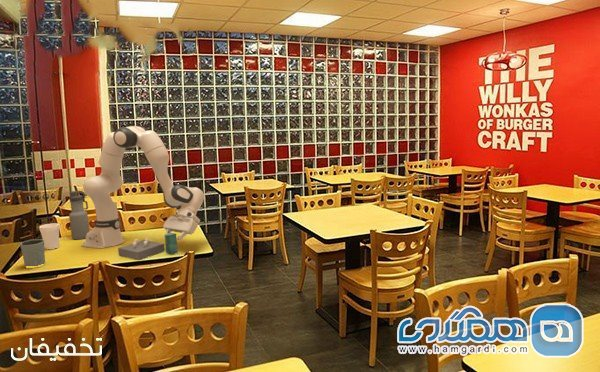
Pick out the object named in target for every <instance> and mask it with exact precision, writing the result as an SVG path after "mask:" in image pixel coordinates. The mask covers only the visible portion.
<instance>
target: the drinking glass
mask: <svg viewBox="0 0 600 372" xmlns="http://www.w3.org/2000/svg"><path fill="white" fill-rule="evenodd" d="M20 249H21V254H22V258H23V263H24V267H25V266H38V265H41V264H44V263H45V264H46V254H45V253H46V252H45V250H46V248H45V245H44V240H43V238H36V239H28V240H24V241H22V242H20Z"/></svg>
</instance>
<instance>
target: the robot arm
mask: <svg viewBox="0 0 600 372" xmlns="http://www.w3.org/2000/svg"><path fill="white" fill-rule="evenodd" d="M136 147H139V148H140V149H141V150H142V151H143V154H144V156H145V157H146V159H147V161H148V163H149V165H150V167H151V169H152V171H153V172H154V173H153V174H154V175H155V177H156V180H157V183H158V184H159V186H160V189H161V191H162V194H163V202H164V204H165V205H166V206H167V207H168V208H170V209H177V208H179V207H180V208H179V210H178V211H177V213H175V214H172V215H170V216H169V217H168V218H167V219H166V221H165V222H164V223H163V226H162V227H163V229H164V230H165V231H166V232H165V235H166V234H169V233H173V232H174V233H180V235H178V236H177V237H176V239H177V240H178V241H182V240H183V239H184V238H185V237H186V236H187V235H193V234H195V231H196V230H197V228H198V225H199V223H200V222H201V219H200V218H199V217H198V216H197V213H198V210H200V208H201V207H202V204H203V203H204V200H205V193H204V192H203V190H202V189H200V188H199V187H192V186H191V187H189V186H186V185H183V184H175V185H174V184H173V182H172V180H171V177H170V175H169V172H168V165H169V163H170V162H169V161H170V154H169V152H168V150H167V147H166V146H165V144H164V142H163V141H162V139H161V137H160V136H159V135H158V133H157V132H155V131H154V130H151V129H150V130H148V129H147V128H146V127H144V126H141V125H129V126H125V127H124V126H123V127H120V128H118V129H116V130H115V131H112V132H110V133H108V135H107V136H106V139H105V140H104V142H103V145H102V147H101V148H102V149H101V153H100V156H99V160H98V165H99V166H100V169H101V170H100V171H101V172H100V174H99V175H96V176H91V177H90V178H88V179H86V180H85V181H84V183H83V185H82V189H83V190H82V191H83V192H84V193H85V196H88V197H89V198H90V199H91V201H92V203H93V206H94V210H95V216H96V220H94V221H93V222H92V225H94V227H93V228H91V229H89V232H88V233H87V234H86V238H85V241H84V242H82V243H81V247H86V248H94V249H103V248H104V249H105V248H109V247H115V246H118V245H121V244H123V243H125V240H124V237H123V235H122V232H121V227H120V226H121V223H120V222H121V221H120V217H119V212H118V205H117V203H116V202H115V201H114V200H113V199H112V197H111V193H114V192H116V191H118V190H120V189H121V188H122V186H123V184H124V183H123V182H124V180H123V177H122V176H121V166H122V161H123V159H124V155H125V151H126V149H127V148H136Z"/></svg>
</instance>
